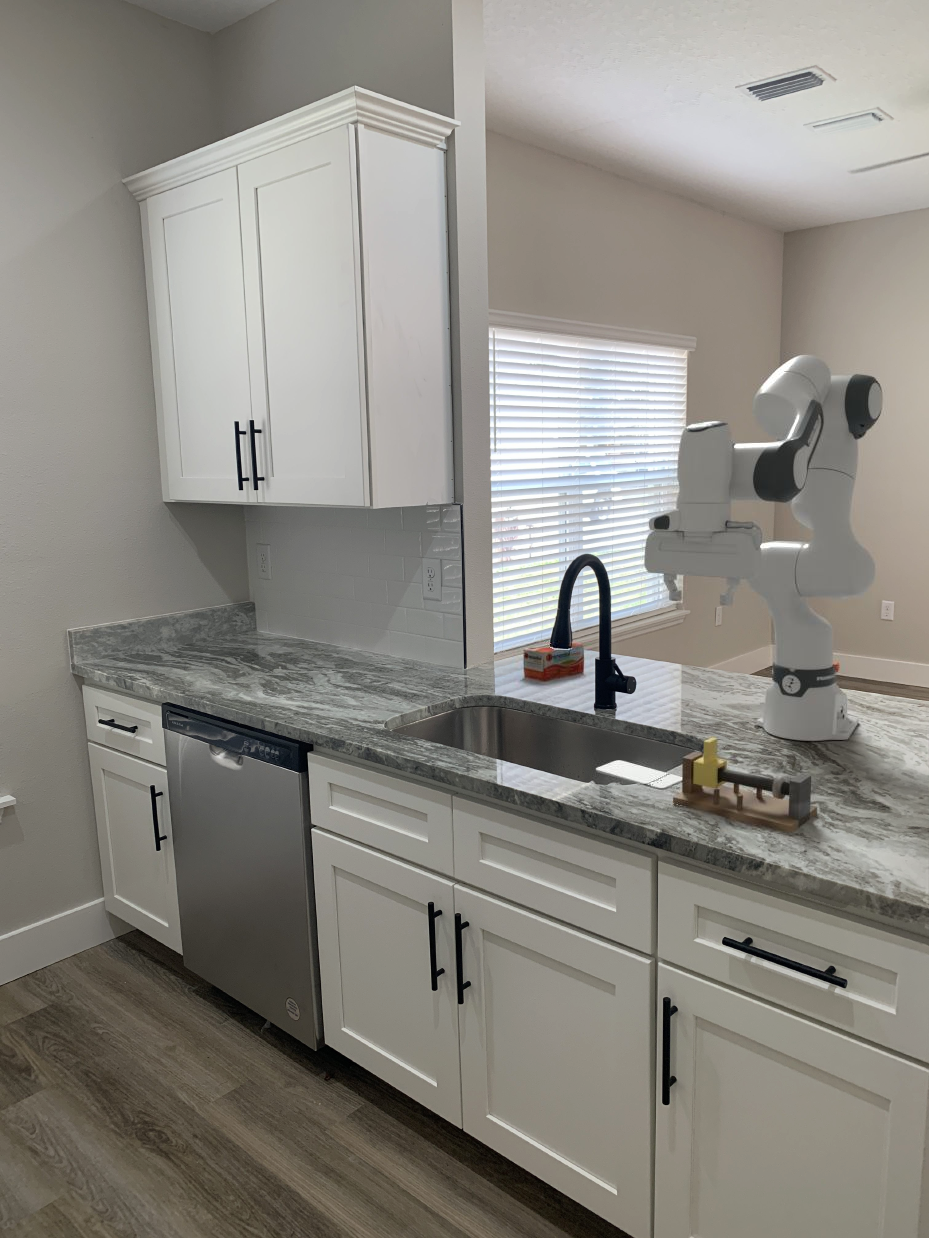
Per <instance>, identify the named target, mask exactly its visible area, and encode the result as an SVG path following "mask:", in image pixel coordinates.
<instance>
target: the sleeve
mask: <svg viewBox="0 0 929 1238" xmlns="http://www.w3.org/2000/svg"><path fill="white" fill-rule="evenodd" d="M727 765H728V760H727V759H724V758H718V738H717V737H710V738H708V739H706V740H704V741H703V757H701V758H699V759H698V760H696V761H694V775H693V784H698V785H702V786H706V787H711V788H715V789H716V788H718V787H719V786H721V785H723V786H724V785H725V784H726V783H727V782H725V781H721V780H717V779H718V768H723V769H727V768H728V767H727Z"/></svg>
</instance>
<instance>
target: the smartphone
mask: <svg viewBox="0 0 929 1238" xmlns="http://www.w3.org/2000/svg"><path fill="white" fill-rule="evenodd" d="M595 772H597V773H599V774H603V775H607V776H611V777H614V778H616V779H617V778H618V779H621V780H625V781H629V782H631V783H635V784H638V785H642V784H643V785H644V784H645V783H649V782H651V781H653V780H656V779H658V778H660V777H662V776H664V775H666V774H668V773H669V772H665V771H661V770H657V769H653V768H650V767H646V766H643V765H639V764H635V763H632V762H629V761H626V760H619V759H618V760H614V761H610V762H609V763H606V764H605V763H604V764H603V765H601V766H598V767H596V768H595ZM669 774H670V775H667V776H666V777H663V778H661V779H659V780H658V781H655V782H651V783H650V784H651V787H650V788H653V787H656V788H666V787H668V788H670V787H672V786H671V785H673V784H674V785H677V784H680V783H681V781H682V776H679V775H676V774H672V773H669ZM660 780H662V781H660ZM657 782H658V783H657ZM679 782H680V783H679ZM676 783H677V784H676ZM652 784H653V785H652ZM648 785H649V784H648ZM674 785H673V786H674ZM669 786H670V787H669ZM656 788H655V789H656ZM666 789H667V788H666Z"/></svg>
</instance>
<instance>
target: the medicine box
mask: <svg viewBox="0 0 929 1238" xmlns="http://www.w3.org/2000/svg"><path fill="white" fill-rule="evenodd" d="M571 643H572V649H570V650H554V649H552V648H550V644H551V643H546V644H542V645H540V644H539V645H536V646H532V647H526V648H523V662H522V663H523V675H524V678H526V679H527V678H528V679H531V680H537V681H540V682H545V683H546V682H548V681H554V680H557V679H562V678H567V677H571V676H575V675H580V674H584V672H585V671H584V670H585V651H584V649H585V648H584V645H583V644H580V643H575V642H571Z"/></svg>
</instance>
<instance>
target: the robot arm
mask: <svg viewBox="0 0 929 1238" xmlns="http://www.w3.org/2000/svg"><path fill="white" fill-rule="evenodd" d="M883 401H884V398H883V390H882V387H881V384H880V383H879V381H878V380H877V379H876V377H874V376H872V375H867V374H861V373H860V374H859V373H855V374H853V375H847V374H846V375H843V374H842V375H836V374H835V375H832V374H831V370H830V368H829V366H828V364H826V362H825V361H824V360H823V359H822V358H821V357H818V356H815V355H812V354H801V355H798V356H795V357H793V358H791V359H790V360H787V361H786V362H785V363H783V364H782V365H781V366H779V368H777V369H776V370H774V372H773V373H772V374H770V375H769V377H768V378H766V381H764V382H763V384H762V385H761V386H760V387H759V388H758V391H757V392H756V394H755V396H754V399H753V402H752V414H753V418H754V420H755V423H756V424H757V426H758V427H759V428H760V430H762V432H763V433H765V434H766V435H768V436H770V437H772V439H773V438H774V439H777V440H779V441H777V440H776V441H770V442H769V441H768V442H747V443H745V442H741V443H739V442H738V443H737V442H736V441H735V440H733V439H732V431H731V425H730V424H729V423H728V422H725V421H721V420H720V421H719V420H718V421H716V420H714V421H713V420H712V421H704V422H696V423H691V424H689V425H687V426H686V427H685V428H683V430H682V433H681V437H680V441H679V446H678V447H679V448H678V456H677V469H676V470H677V475H676V476H677V477H676V478H677V482H678V486H679V487H678V489H679V490H678V493H677V494H678V495H677V497H676V503H675V506H676V507H675V508H676V509H674V510H671V511H669V512H665V513H663V514H660V515H656V516H654V517H650V518H649V521H648V529H649V530H651V532H649V534H648V535H647V537H646V541H645V547H644V548H645V549H644V560H643V563H644V568H645V569H646V571H647V572H648V573H650V574H660V575H662V574H663V582H664V584H665V586H666V588H667V590H668V591H669V592H668V597H669V598H668V599H669V601H672V602H681V601H682V598H683V597H682V595H683V590H682V589H679V588H678V587H677V584H676V582H675V581H676V580H677V579H678V576H691V577H692V576H694V577H706V578H707V577H708V578H709V577H710V578H721V579H723V578H724V579H726V585H727V586H728V588H727V590H726V592H725V593H723V594H719V605H720V606H727V607H730V606H733V603H734V595H735V593H736V592H737V590H738V589H739V587H740V585H741V580H745V582H746V583H747V585H748V586H749V587H750V588H751V589H752V590H753V591H754V592H755V593H756V594H757V595H758V596H759V597H760V598H761V599H762V601H763V602H764V604H765V605H766V607H767V609H768V611H769V614H770V615H771V620H772V623H773V628H774V650H775V651H774V652H775V653H774V656H775V657H774V662H773V663H772V668H771V674H772V675H771V676H772V677H771V679H772V680H771V681H772V683H771V684H769V685H768V686H767V687H766V689H765V697H764V704H763V716H762V717H760V718H758V719H756V721H757V722H756V724H757V726H759V727H761V728H763V729H764V731H765V732H767V734H770V735H772V736H775V737H778V738H783V739H788V740H796V741H809V742H810V741H811V742H812V741H813V742H815V741H817V742H818V741H829V740H837V741H839V740H840V741H841V740H842V741H843V740H844V741H845V740H848V739H849V738H850V737H851V735H852V734H853V732H854V730H856V727H857V726H858V724H859V717H857V716H854V715H851V714H849V713H848V697H847V694H846V693H844V691H842V689H841V688H840V687H839V685H838V684H837V683H836V682H837V673H839V671H840V666H841V665H840V663H839V662H834V640H835V638H834V637H835V632H834V628H833V626H832V624H830V622H829V621H828V620H827V619H826V618H825V617H822V616H821V615H819V614H818V613H816V612H815V611H814V609H812V607H811V605H810V604H809V601H808V598H817V599H829V600H842V599H845V600H846V599H853V598H860V597H862V596H864V595H865V594H867V592H868V591H869V589H870V588H871V587H872V585H873V583H874V580H875V577H876V564H875V561H874V558H873V557H872V555H871V553H870V552H869V551H868V550H867V548H865V547H864V546H863V545H862V544H861V543H860V542H859V541H858V540H857V538H856V536H855V535H854V532H853V530H852V526H851V507H852V499H853V494H854V488H855V483H856V478H857V472H858V462H859V441H858V440H861V439H862V438H864V436H865V435H866V434H867V432H868V431H869V430H870V429H872V428H873V426H874V425H875V424H876V423H877V421H879V418H880V416H881V414H882V409H883V403H884V402H883ZM732 501H764V502H770V503H771V502H772V503H788V502H791V505H790V509H791V512H792V515H793V517H794V518H795V520H796V521H797V522H798V523H800V524H801V525H803V526H804V527H806V528H807V529H809V530H811V531H812V538H811V540H810V541H789V540H787V541H786V540H774V541H766V542H763V530H762V529H761V528H760V526H759V525H757V524H755V522H753V521H737V520H731V515H732V513H731V511H732Z"/></svg>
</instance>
